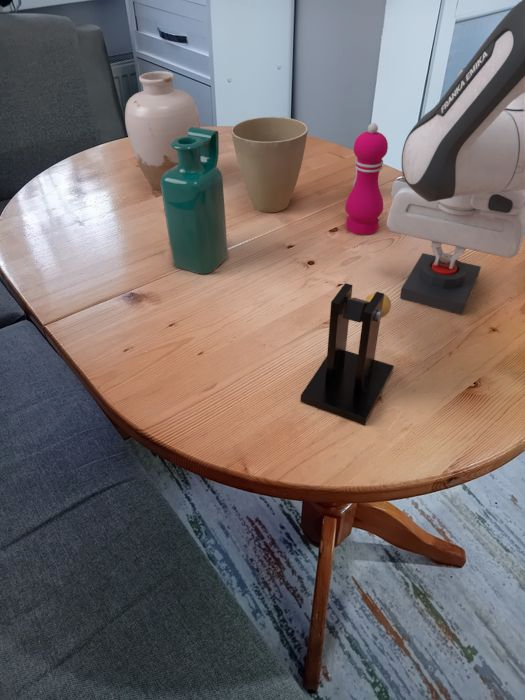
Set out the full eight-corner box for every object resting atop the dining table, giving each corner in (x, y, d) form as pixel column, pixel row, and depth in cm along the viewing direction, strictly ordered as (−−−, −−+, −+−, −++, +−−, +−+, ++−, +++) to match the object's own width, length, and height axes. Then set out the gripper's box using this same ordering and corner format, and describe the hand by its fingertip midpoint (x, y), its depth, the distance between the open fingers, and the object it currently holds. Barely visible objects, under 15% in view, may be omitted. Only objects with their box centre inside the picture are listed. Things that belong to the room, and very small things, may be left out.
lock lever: (365, 313, 77) (371, 289, 76) (389, 320, 76) (396, 295, 75) (335, 320, 64) (343, 291, 63) (363, 329, 63) (372, 299, 62)
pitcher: (208, 277, 94) (195, 152, 80) (168, 266, 97) (148, 143, 83) (235, 251, 101) (228, 131, 86) (197, 241, 104) (183, 124, 89)
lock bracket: (332, 353, 78) (340, 265, 68) (392, 372, 75) (409, 283, 65) (300, 402, 71) (303, 312, 61) (365, 425, 68) (379, 334, 58)
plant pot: (318, 199, 116) (321, 123, 106) (281, 227, 107) (281, 147, 97) (260, 184, 123) (258, 111, 112) (221, 210, 113) (215, 133, 103)
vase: (176, 203, 116) (161, 90, 101) (122, 188, 123) (100, 80, 108) (219, 177, 126) (210, 70, 111) (166, 164, 133) (152, 62, 118)
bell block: (420, 263, 96) (424, 243, 93) (478, 277, 92) (483, 257, 90) (399, 298, 88) (403, 278, 85) (461, 315, 84) (467, 294, 82)
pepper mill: (341, 234, 104) (349, 129, 91) (345, 217, 110) (354, 115, 97) (379, 238, 103) (393, 131, 90) (381, 220, 108) (395, 117, 95)
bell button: (433, 266, 91) (435, 257, 89) (457, 272, 89) (460, 263, 88) (427, 278, 88) (429, 269, 87) (452, 284, 86) (454, 275, 85)
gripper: (387, 179, 80) (376, 259, 89) (533, 207, 72) (505, 291, 82) (400, 164, 84) (388, 242, 93) (540, 188, 77) (512, 271, 86)
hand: (444, 265), depth 87 cm, fingers closed, pressing on bell button
